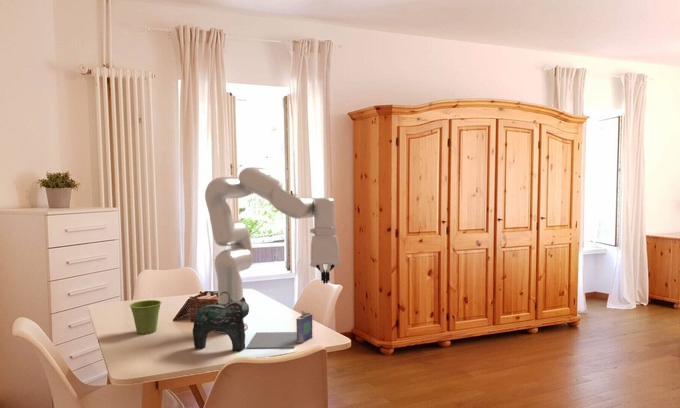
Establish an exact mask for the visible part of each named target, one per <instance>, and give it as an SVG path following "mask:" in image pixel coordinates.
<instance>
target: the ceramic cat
mask: <svg viewBox="0 0 680 408" xmlns="http://www.w3.org/2000/svg"><path fill="white" fill-rule="evenodd" d="M222 293H227V292H222ZM222 293H221V294H222ZM221 294H220V296H221ZM227 294H228V295H229V293H227ZM229 302H230V296H229ZM229 302H228V303H227V304H228V305H227V304H220V303H218V302H217V301H214V300H206V301H203V302H202V303H200V305H198V308H197V309H196V310H197V311H196V314H195V316H194V320H193V328H192V336H193V338H192V339H193V346H194V349H196V350H203V349H205V348H206V346H207V345H206V343H207V338H208V334H209V333H211V332H216V331H218V332H223V333H222V334H226V333H227V335H228V337H229V339H230V341H231V345H232V346H231V347H232V352H242V351H244V350H245V349H246V332H245V331H246V330H245V329H244V323H245V322H243V318H245V317H247V316H248V314H249V312H250V306H249V304H248V302H246V299H245V297H244V296H243V298H242V299H241V300H239V301H234V300H233V299H231V302H230V303H229ZM206 303H214V304H207V305H205V306H203V307H202V305H204V304H206ZM244 330H245V331H244ZM218 332H217V333H218Z"/></svg>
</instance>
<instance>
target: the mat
mask: <svg viewBox="0 0 680 408" xmlns="http://www.w3.org/2000/svg"><path fill="white" fill-rule="evenodd" d="M296 344H297V331H290V332H289V331H277V332H274V331H273V332H267V331H266V332H263V331H262V332H261V331H260V332H255V334H254V335H253V337H252V339H251V340H250V341H249V343H248V344H247V346H245V349H249V350H250V349H251V350H252V349H253V350H255V349H260V350H261V349H294V348H295V346H296Z"/></svg>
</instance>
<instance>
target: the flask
mask: <svg viewBox="0 0 680 408" xmlns="http://www.w3.org/2000/svg"><path fill="white" fill-rule="evenodd" d="M300 313H301V315H300V316H298V317H296V324H295V325H296V332H297V341H296V344H300V345H301V344H304V343H306V342H308V341H309V340H311V339H313V313H311V312H306V311H305V310H301V311H300Z"/></svg>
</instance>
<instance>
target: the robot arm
mask: <svg viewBox="0 0 680 408" xmlns="http://www.w3.org/2000/svg"><path fill="white" fill-rule="evenodd" d="M252 194H256V195H257V196H259V197H261V198H262V199H265V200H266V201H268V202H269V203H270V204H271V206H273V208H275V210H277V211H279V212H280V213H282V214H284V215H286V216H288V217H290V218H293V219H295V220H296V219H297V220H300V219H301V220H302V219H308V218H309V219H310V218H313V223H314V224H313V228H311V229H310V230H309V233H311V234H313V235H312V237H311V243H310V265H309V266H310V267H312V268H316V269H318V271H319V272H320V274H321V275H320V277H321V279H320V280H321V281H322V283H323V284H328V283H329V281H330V280H331V277H330V276H331V275H330V272H331V271H332V270H333V269H334V268H337V267H340V266H341V262H340V247H339V239H338V235H336V203H335V202H336V201H335V199H334V198H332V197H317V198H316V197H311V196H310V197H309V196H307V197H304V196H303V197H298V196H295V195H293V194H292V193H289V192H288V191H286V190H284V188H283V184H282V182H281V181H280V180H279V179H276V178H275V177H272V176H271V173H270V171H268V170H267V169H265V168H263V167H253V166H252V167H251V166H249V167H245V168H243V169H242V170H241V171H240V172H239V174H238V176H220V177H216V178H214V179H212V180H211V181H210V182H209V183H208V185H207V186H206V189H205V192H204V200H205V204H206V206H207V211H208V216H209V222H210V226H211V231H212V236H213V240H214V242H215V244H216V245H217V246H219V247H229V246H230V248H228V249H224V250H222V251H220V252H219V253H218V254H217V255H216V257H215V259H214V268H215V272H216V278H217V293H218V294H217V298H218V299H217V300H218V302H217V303H220V304H227V303H228V302H229V296H230V302H231V299H233V300H234V301H239V300H241V299H242V298H243V297H244V287H243V285H244V284H243V279H242V276H241V274H240V272H243V271H245V270H248V269H249V268H250V267H252V265H253V263H254V251H253V246H252V241H251V236H250V231H249V228H248V227H247V226H246V224H244V223H243V222H242V221H240V220H234V219H233V214H232V209H231V207H230V205H229V204H228V202H227V200H228V199H240V198H244V197H247V196H250V195H252ZM324 265H327V266H326V269H325V268H324ZM222 292H227V293H229V295H228V294H227V293H222ZM221 293H222V294H221ZM220 294H221V296H220ZM230 302H229V303H230ZM227 305H228V304H227ZM244 318H245V317H244ZM244 318H243V322H244V321H245V320H244ZM248 328H249V327H248V323H245V322H244V329H245V330H244V331H246V330H248ZM215 332H216V333H218V334H224V333H223V332H218V331H215ZM225 334H227V333H225ZM227 335H228V334H227Z"/></svg>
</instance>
